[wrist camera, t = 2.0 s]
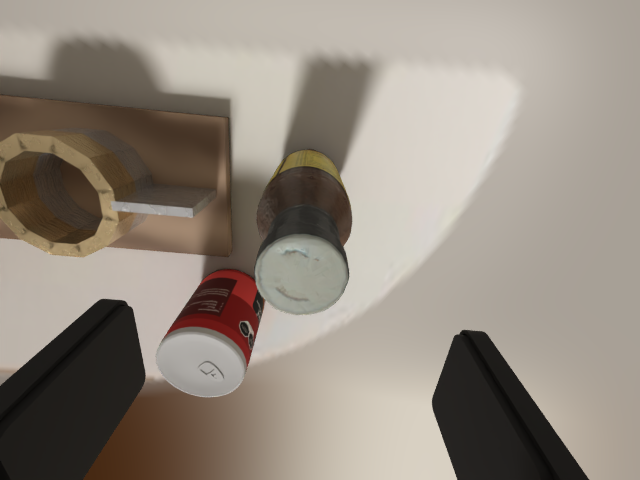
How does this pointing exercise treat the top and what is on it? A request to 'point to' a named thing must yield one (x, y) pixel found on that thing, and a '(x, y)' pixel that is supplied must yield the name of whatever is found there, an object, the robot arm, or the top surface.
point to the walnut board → (159, 156)
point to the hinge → (103, 173)
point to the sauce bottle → (303, 235)
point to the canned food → (213, 336)
